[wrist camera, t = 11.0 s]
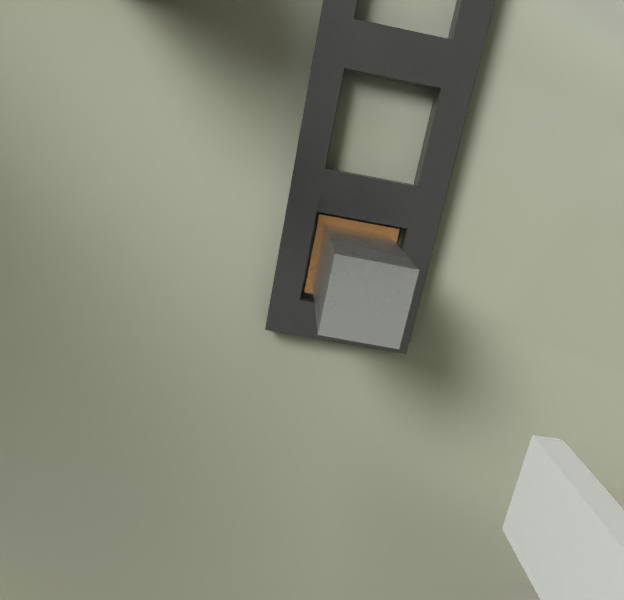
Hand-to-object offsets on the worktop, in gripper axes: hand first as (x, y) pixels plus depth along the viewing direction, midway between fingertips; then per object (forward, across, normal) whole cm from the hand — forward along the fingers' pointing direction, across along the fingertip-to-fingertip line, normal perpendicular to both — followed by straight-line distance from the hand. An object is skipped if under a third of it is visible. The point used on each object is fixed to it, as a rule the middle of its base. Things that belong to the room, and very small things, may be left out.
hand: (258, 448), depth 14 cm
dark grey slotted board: (+23, +5, +8) cm, 25 cm away
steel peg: (+23, +5, 0) cm, 23 cm away
